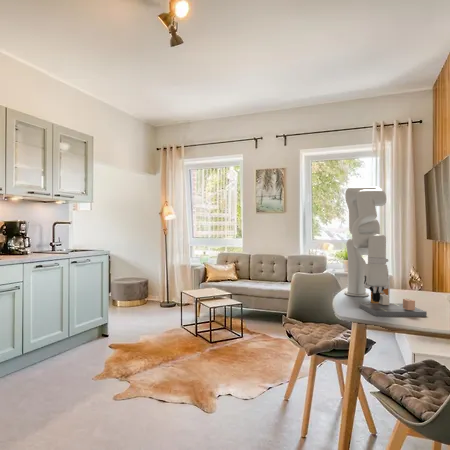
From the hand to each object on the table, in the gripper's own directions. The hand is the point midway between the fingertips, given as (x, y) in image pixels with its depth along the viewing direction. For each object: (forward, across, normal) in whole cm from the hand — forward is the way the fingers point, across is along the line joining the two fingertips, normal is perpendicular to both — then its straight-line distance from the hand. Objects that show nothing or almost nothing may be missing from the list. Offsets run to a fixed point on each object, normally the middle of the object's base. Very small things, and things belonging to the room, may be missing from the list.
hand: (376, 301), depth 162 cm
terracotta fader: (+1, -10, +10) cm, 14 cm away
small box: (+4, -8, -14) cm, 16 cm away
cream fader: (+1, -4, 0) cm, 4 cm away
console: (+4, -5, +5) cm, 8 cm away
